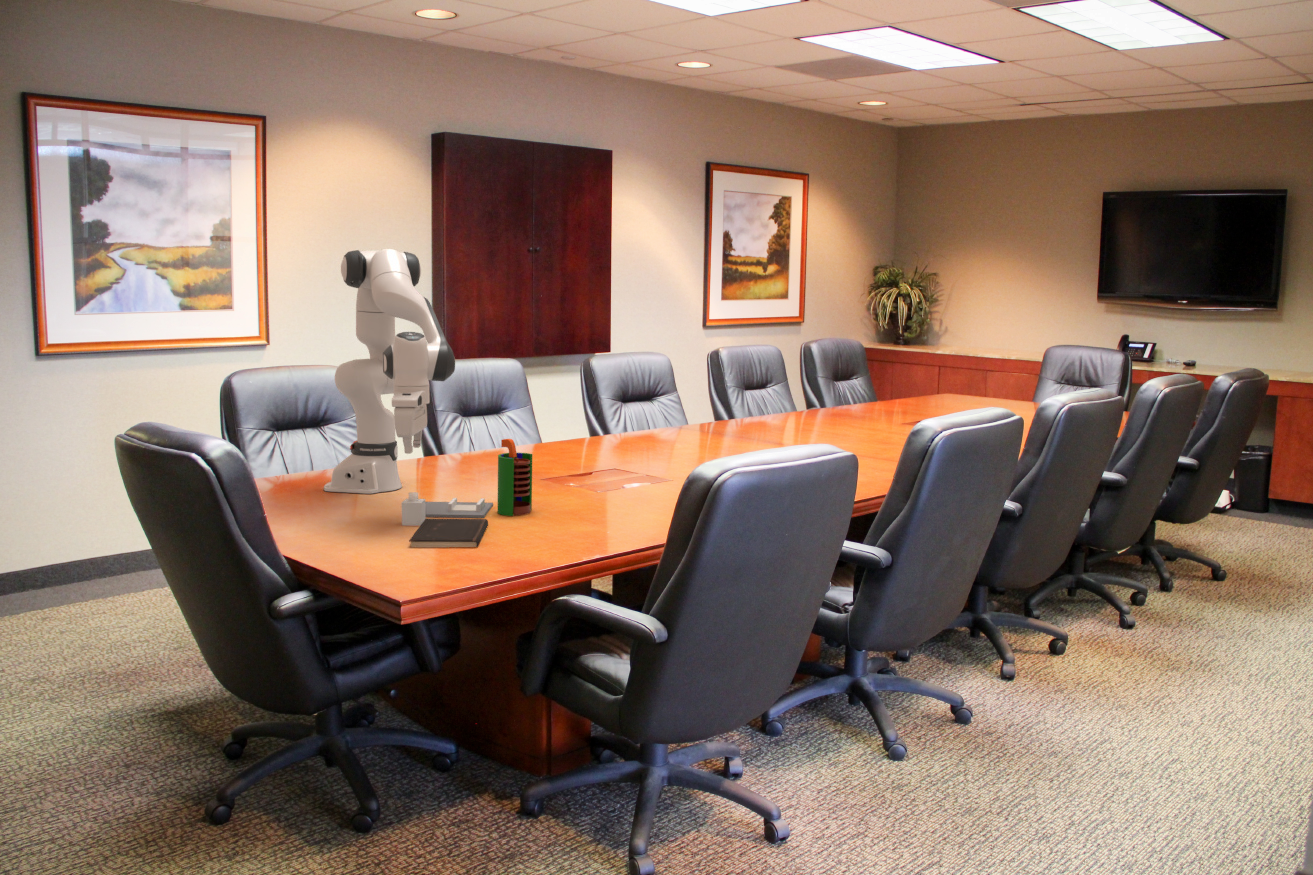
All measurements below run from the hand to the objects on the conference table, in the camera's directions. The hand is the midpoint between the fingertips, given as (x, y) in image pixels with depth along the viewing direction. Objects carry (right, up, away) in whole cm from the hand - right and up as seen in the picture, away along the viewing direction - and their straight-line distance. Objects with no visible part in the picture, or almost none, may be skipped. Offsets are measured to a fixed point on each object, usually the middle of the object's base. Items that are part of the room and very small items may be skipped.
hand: (412, 450), depth 272 cm
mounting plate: (+7, -17, +18) cm, 25 cm away
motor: (+24, -17, +18) cm, 34 cm away
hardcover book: (+12, -22, -10) cm, 27 cm away
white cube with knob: (0, -19, +3) cm, 19 cm away
